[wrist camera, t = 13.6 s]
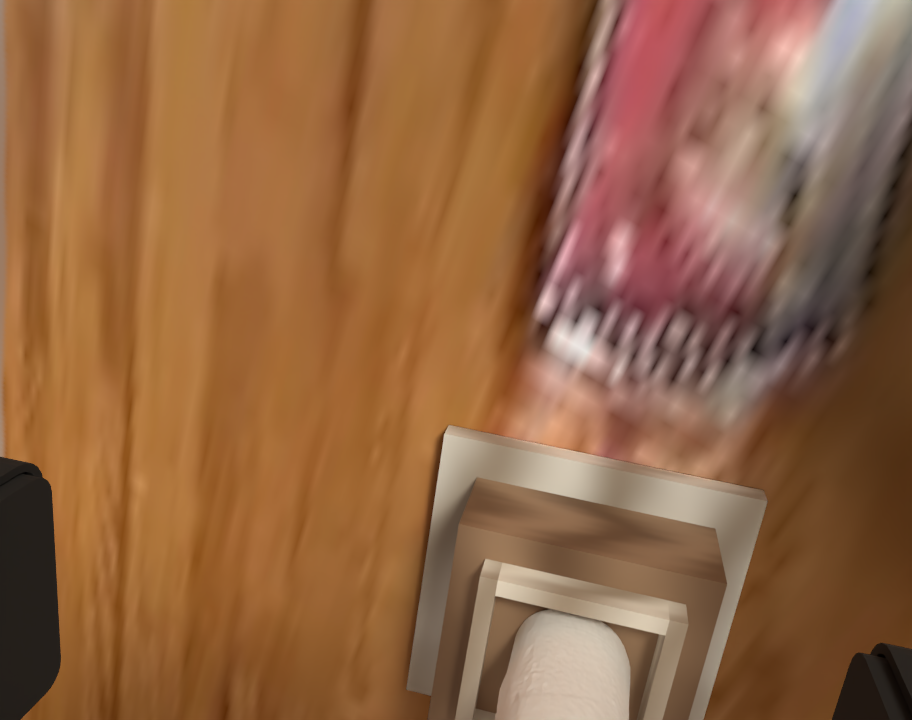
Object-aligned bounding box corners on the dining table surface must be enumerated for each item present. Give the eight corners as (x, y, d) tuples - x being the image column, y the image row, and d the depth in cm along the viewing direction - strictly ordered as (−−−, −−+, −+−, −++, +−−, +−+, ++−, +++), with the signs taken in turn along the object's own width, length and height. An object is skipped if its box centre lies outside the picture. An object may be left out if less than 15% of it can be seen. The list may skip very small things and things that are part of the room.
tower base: (763, 490, 41) (793, 573, 34) (689, 745, 46) (701, 865, 39) (449, 425, 43) (414, 490, 36) (411, 675, 49) (374, 776, 41)
